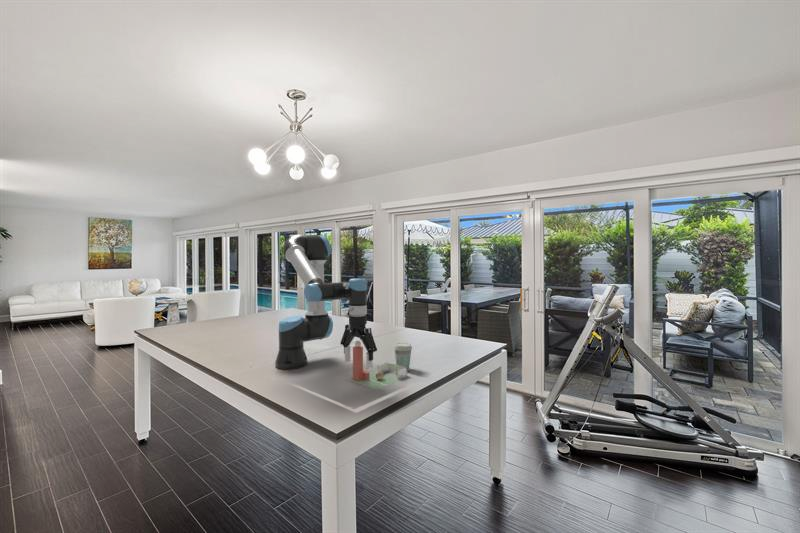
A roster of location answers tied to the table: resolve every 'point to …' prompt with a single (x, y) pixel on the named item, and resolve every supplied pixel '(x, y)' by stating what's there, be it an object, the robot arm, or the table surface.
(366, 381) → the pitch
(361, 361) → the red inhaler
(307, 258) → the robot arm
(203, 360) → the table surface
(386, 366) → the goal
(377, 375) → the ball
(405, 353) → the coffee cup
